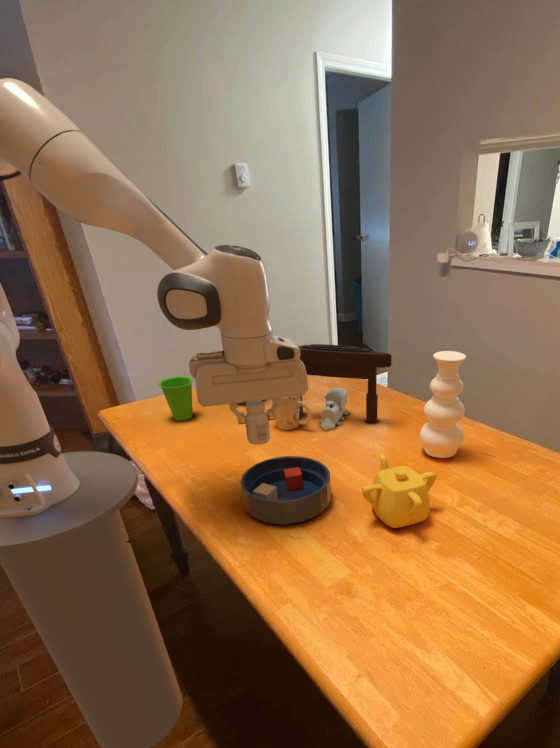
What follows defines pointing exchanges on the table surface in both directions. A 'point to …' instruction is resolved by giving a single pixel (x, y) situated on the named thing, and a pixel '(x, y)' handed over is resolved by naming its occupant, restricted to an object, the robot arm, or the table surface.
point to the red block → (293, 478)
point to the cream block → (266, 492)
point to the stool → (343, 376)
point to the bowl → (289, 503)
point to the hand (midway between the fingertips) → (257, 421)
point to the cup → (178, 396)
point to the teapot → (399, 494)
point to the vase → (444, 408)
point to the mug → (291, 413)
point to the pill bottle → (257, 423)
